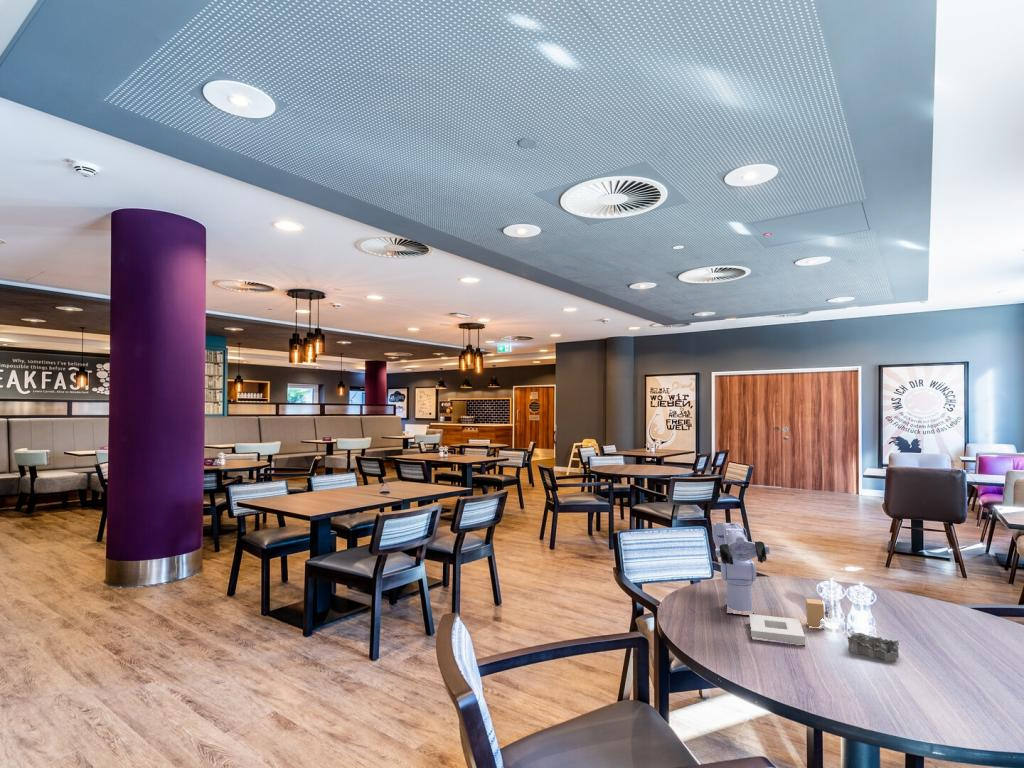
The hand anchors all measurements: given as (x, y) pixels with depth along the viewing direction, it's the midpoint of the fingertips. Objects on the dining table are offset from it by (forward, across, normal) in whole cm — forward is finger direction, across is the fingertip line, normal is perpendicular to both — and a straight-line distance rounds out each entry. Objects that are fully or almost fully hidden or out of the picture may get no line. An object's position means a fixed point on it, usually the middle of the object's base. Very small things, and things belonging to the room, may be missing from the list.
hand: (746, 560), depth 153 cm
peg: (-10, +17, +24) cm, 31 cm away
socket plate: (-2, +5, +22) cm, 22 cm away
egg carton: (+6, +26, +24) cm, 36 cm away
